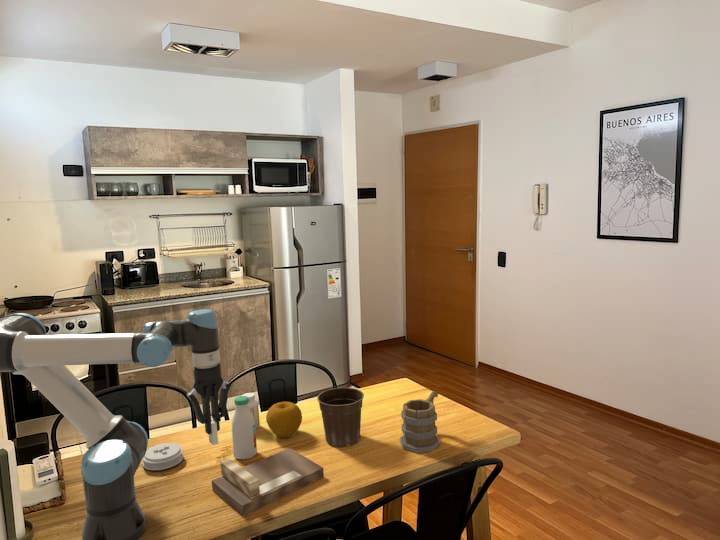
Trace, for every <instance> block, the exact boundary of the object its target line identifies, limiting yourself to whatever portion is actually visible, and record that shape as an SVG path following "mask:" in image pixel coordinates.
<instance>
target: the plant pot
mask: <svg viewBox="0 0 720 540" xmlns="http://www.w3.org/2000/svg"><path fill="white" fill-rule="evenodd" d="M364 397H365V394H364V392H363V391H361V390H360V389H357V388H353V387H336V388H330V389H327V390H324V391H322V392H320V393H319V394H318V395H317V402H318V405H319V409H320V412H321V418H322V422H323V432H324V437H325V441H326V442H327V444H328V445H329V446H333V447H337V448H342V447H347V446H348V445H350V446H353V445H355V444H357V443H358V442H359V441H360V439H361V424H362V423H361V421H362V418H361V417H362V408H363V399H364Z"/></svg>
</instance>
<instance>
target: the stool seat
mask: <svg viewBox="0 0 720 540" xmlns="http://www.w3.org/2000/svg"><path fill="white" fill-rule="evenodd" d="M242 468H243V469H245V470H246V471H247V472H249V473H250V474H252V475H253V476H254V477H256V478H257V479H258V480H259V488H260V493H259V494H257V495H254V496H252V497H249V496H248V495H247V494H246V493H244V492H243V491H242V490H241V489H239V488H238V487H237V486H236V485H234V484H233V483H232V482H230V481H229V480H228V479H227V478H225V477H224V476H223V475H221V476H219V477H216V478H214V479H212V480H211V487H212V489H211V490H212V491H213V492H214V493H215V494H217V495H218V497H220V498H221V499H223V501H225V502H226V503H227V504H228V505H230V507H232V508H233V509H234V510H235V511H237V512H238V513H239V514H240V515H241V516H242V517H244V516H245V515H248V514H250V513H253V512H254V511H256V510H258V509H260V508H262V507H264V506H266V505H268V504H270V503H273V502H274V501H277V500H278V499H281V498H283V497H285V496H287V495H289V494H292V493H293V492H295V491H298V490H299V489H302V488H304V487H306V486H308V485H310V484H312V483H314V482H316V481H318V480H320V479H322V478H324V475H325V473H324V467H322V466H321V465H319V464H318V463H316V462H314V461H313V460H311V459H309V458H307V457H306V456H304V455H303V454H301V453H299V452H297V450H294V449H293V448H291V447H289V448H286V449H284V450H282V451H279V452H277V453H274V454H272V455H269V456H266V457H264V458H262V459H260V460H257V461H255V462H253V463H251V464H248V465H245V466H243V467H242Z"/></svg>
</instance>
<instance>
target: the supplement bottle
mask: <svg viewBox="0 0 720 540" xmlns="http://www.w3.org/2000/svg"><path fill="white" fill-rule="evenodd" d="M241 396H247V397H248V398H249V404H248V406H249V409H250V411H251V413H252V415H253V417H254V421H255V430H257V429H259V428H260V426H261V423H260V412H259V402H258V400H257V399H256V394H255V393H253V392H247V393H243V394H242V395H241Z"/></svg>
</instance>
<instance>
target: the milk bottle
mask: <svg viewBox="0 0 720 540" xmlns="http://www.w3.org/2000/svg"><path fill="white" fill-rule="evenodd" d="M248 404H249V398H248V397H247V396H242V395H240V396H236V397H235V398H234V406H235V409H234V413H233V415H232V420H231V437H232V452H233V457H234V458H235V459H238V460H241V459H242V460H250V459H251V458H254V457H255V456H256V455H257V453H258V446H257V432H256V430H257V429H255V421H254V417H253V415H252V413H251V411H250V409H249V406H248Z"/></svg>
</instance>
